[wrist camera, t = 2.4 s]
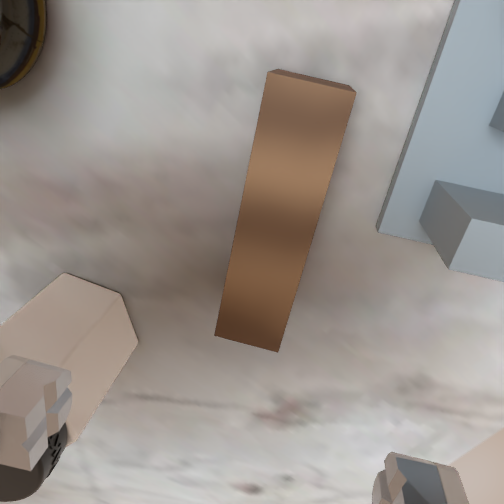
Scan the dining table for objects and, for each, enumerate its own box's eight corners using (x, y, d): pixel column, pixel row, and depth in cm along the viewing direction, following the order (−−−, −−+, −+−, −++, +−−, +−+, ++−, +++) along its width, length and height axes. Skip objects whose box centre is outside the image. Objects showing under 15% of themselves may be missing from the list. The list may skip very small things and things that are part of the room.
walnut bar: (284, 306, 29) (277, 352, 24) (230, 292, 29) (214, 335, 25) (349, 85, 22) (356, 92, 18) (278, 68, 22) (267, 71, 18)
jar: (91, 378, 35) (-11, 521, 24) (16, 313, 33) (-131, 437, 22) (160, 330, 31) (77, 472, 21) (81, 253, 29) (-57, 367, 19)
